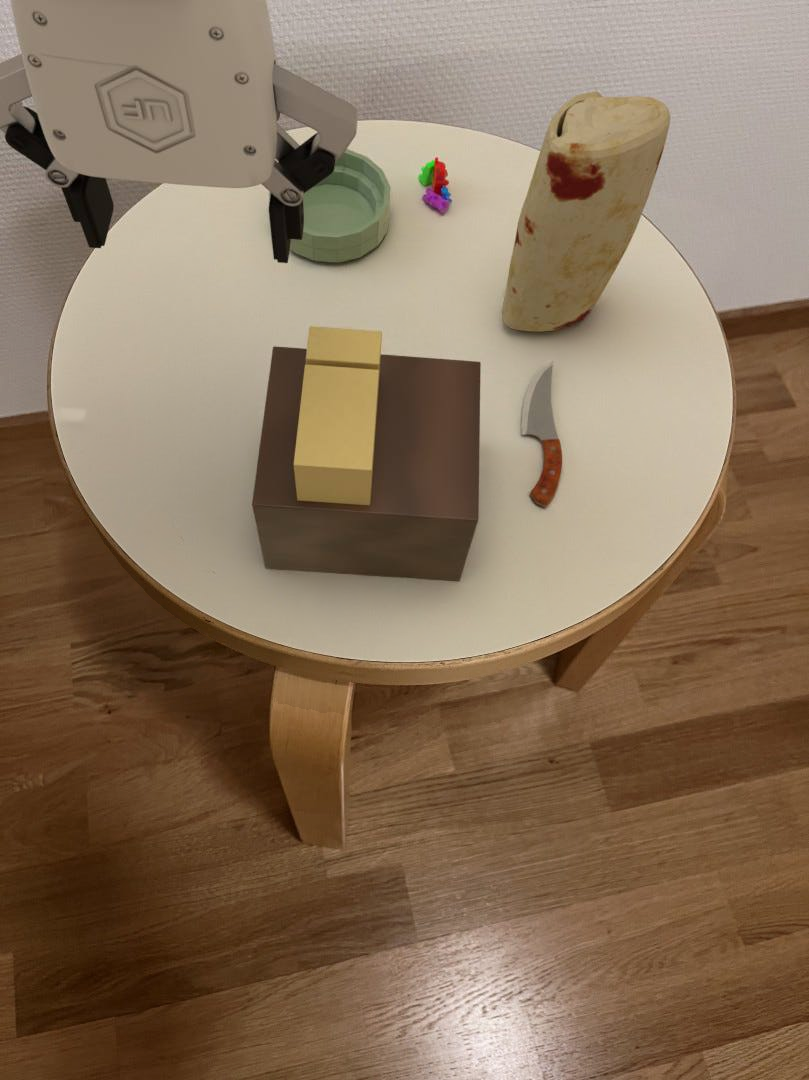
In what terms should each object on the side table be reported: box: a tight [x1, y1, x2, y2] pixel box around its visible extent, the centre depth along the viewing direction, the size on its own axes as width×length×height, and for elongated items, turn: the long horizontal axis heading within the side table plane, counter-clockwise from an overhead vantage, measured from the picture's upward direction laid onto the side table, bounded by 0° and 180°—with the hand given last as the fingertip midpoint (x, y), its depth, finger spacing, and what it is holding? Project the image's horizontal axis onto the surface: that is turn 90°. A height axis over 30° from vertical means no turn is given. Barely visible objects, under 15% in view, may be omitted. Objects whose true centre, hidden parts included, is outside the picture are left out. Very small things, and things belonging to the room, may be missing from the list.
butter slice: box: [306, 325, 383, 403], centre depth 57 cm, size 4×2×4 cm, turn 87°
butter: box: [294, 365, 379, 505], centre depth 55 cm, size 4×7×4 cm, turn 177°
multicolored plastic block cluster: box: [418, 156, 453, 214], centre depth 79 cm, size 5×3×4 cm, turn 5°
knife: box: [521, 360, 563, 508], centre depth 70 cm, size 13×1×3 cm
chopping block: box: [251, 345, 482, 582], centre depth 62 cm, size 14×12×10 cm
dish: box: [268, 148, 391, 263], centre depth 77 cm, size 10×10×4 cm
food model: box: [501, 90, 671, 332], centre depth 66 cm, size 10×7×20 cm
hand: (193, 235), depth 48 cm, fingers open, 9 cm apart
